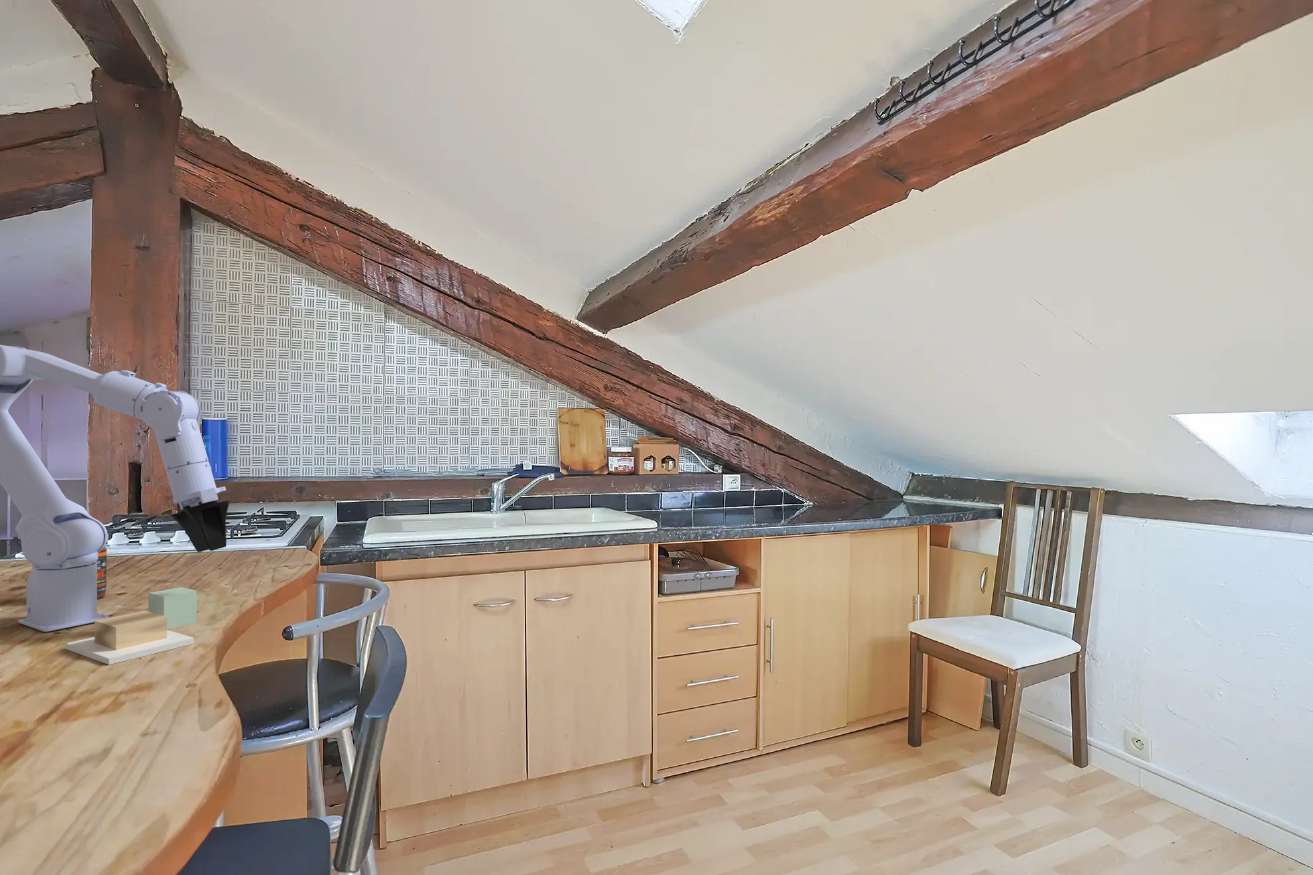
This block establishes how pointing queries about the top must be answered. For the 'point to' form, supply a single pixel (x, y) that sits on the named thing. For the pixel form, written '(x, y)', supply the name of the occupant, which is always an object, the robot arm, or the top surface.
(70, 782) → the top surface
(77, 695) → the top surface
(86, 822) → the top surface
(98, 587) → the supplement bottle
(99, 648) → the build base
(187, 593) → the sage block
